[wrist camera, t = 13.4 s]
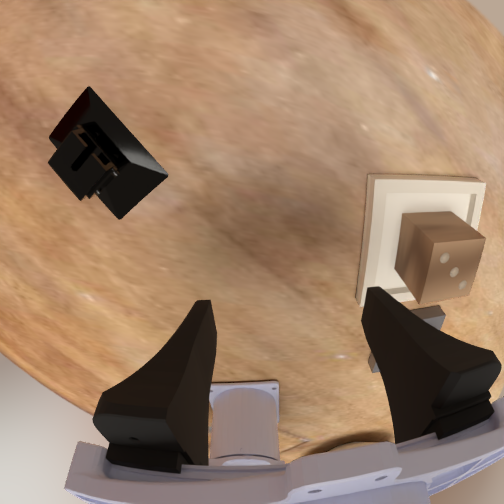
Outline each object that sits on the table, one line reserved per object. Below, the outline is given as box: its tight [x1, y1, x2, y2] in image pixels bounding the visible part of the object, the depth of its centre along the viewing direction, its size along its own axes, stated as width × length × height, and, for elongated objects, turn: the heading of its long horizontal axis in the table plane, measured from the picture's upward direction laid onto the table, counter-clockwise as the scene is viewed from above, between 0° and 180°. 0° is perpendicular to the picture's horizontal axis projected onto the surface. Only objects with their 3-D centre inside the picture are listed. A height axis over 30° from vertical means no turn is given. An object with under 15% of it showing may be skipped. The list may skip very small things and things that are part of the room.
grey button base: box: [368, 306, 446, 373], centre depth 28 cm, size 7×7×2 cm
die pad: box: [355, 174, 486, 307], centre depth 22 cm, size 11×11×1 cm
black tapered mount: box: [48, 87, 168, 220], centre depth 18 cm, size 12×7×5 cm, turn 37°
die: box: [394, 211, 486, 305], centre depth 20 cm, size 5×5×5 cm
